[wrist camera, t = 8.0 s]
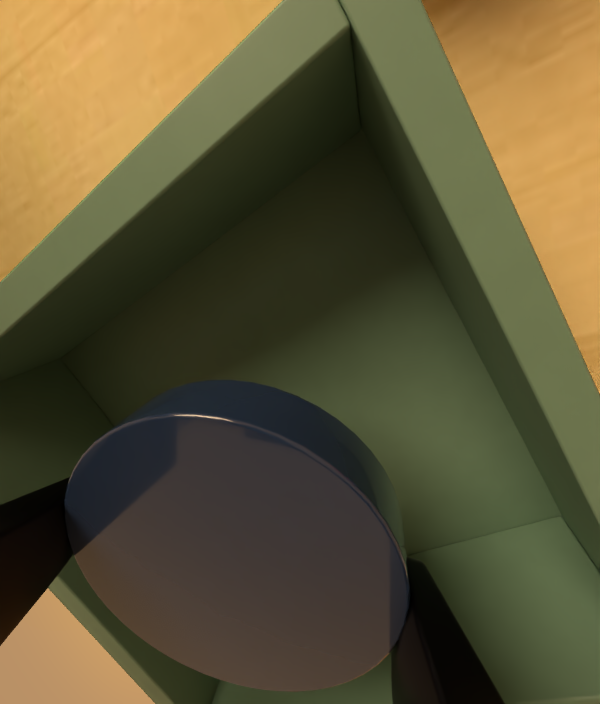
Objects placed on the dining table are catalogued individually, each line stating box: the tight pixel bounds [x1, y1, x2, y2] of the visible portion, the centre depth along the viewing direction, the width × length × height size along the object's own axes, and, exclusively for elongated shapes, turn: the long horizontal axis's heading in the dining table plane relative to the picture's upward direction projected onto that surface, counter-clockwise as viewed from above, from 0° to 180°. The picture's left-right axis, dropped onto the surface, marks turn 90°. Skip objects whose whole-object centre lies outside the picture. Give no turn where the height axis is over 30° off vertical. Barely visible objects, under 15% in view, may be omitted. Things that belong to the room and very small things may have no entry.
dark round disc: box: [64, 380, 410, 692], centre depth 8 cm, size 7×7×2 cm
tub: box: [0, 0, 600, 704], centre depth 10 cm, size 15×15×5 cm
